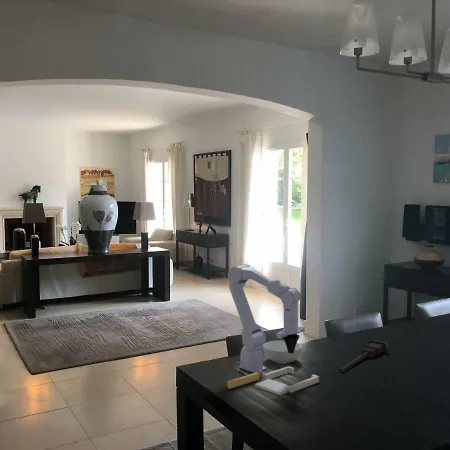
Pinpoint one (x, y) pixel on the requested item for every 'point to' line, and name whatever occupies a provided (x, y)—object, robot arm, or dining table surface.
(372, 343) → the electrical plug
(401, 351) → the dining table surface
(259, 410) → the dining table surface
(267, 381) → the hard drive
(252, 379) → the bar
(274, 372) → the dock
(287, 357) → the cereal bowl
